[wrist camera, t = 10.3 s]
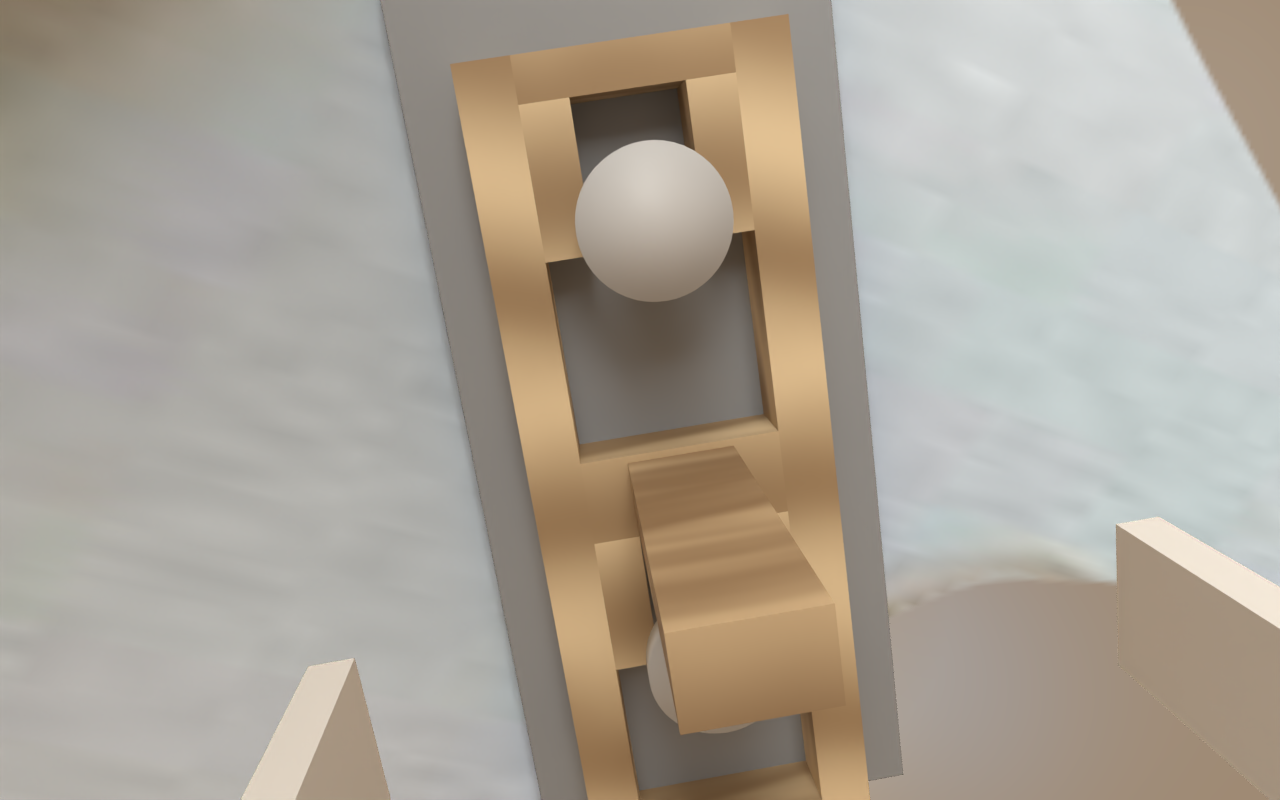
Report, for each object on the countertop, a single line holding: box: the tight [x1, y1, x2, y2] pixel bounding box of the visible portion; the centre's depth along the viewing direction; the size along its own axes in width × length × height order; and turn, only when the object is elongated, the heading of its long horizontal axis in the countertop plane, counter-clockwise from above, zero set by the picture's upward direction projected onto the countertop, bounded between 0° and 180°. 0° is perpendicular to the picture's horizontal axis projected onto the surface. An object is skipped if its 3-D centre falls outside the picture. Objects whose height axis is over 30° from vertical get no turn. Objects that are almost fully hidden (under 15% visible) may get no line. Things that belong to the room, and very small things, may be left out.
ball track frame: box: [450, 14, 870, 800], centre depth 22 cm, size 24×9×12 cm, turn 9°
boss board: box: [380, 0, 903, 800], centre depth 26 cm, size 27×12×5 cm, turn 8°
